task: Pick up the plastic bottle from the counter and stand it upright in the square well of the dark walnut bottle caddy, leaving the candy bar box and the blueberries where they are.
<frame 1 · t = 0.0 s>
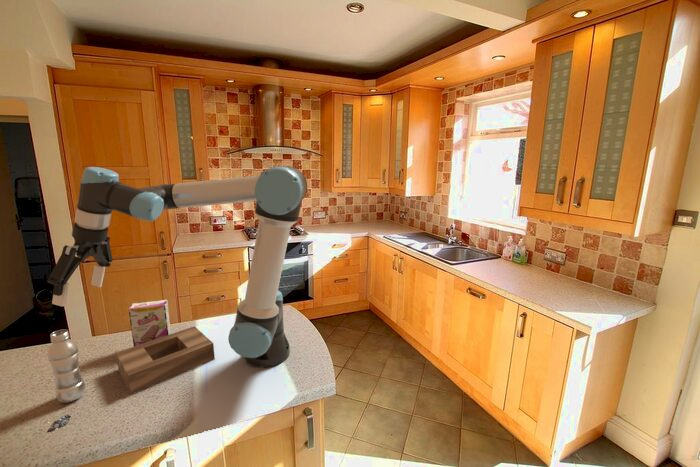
hand: (78, 294, 93), 28 cm above the counter, tool tilted 20°, fingers open, 13 cm apart
candy bar box: (154, 347, 118), on the counter
plastic bottle: (72, 398, 92), on the counter
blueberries: (59, 424, 83), on the counter
bottle caddy: (167, 364, 107), on the counter
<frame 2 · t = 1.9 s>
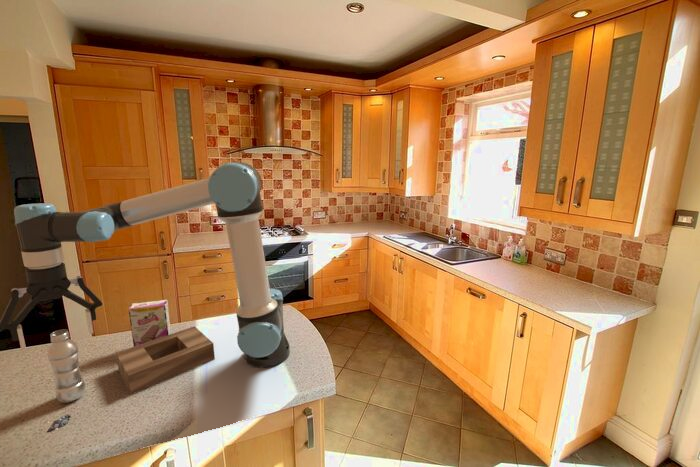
hand: (59, 340, 88), 18 cm above the counter, tool pointing down, fingers open, 13 cm apart
nothing on the counter moved.
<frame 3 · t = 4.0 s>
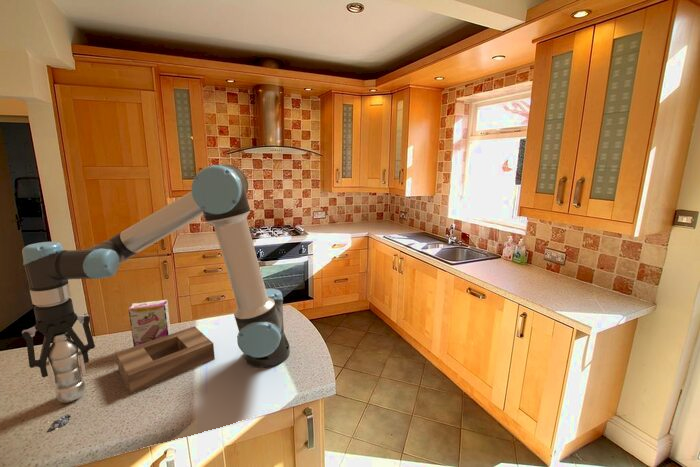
hand: (68, 379, 91), 6 cm above the counter, tool pointing down, fingers closed on plastic bottle, 6 cm apart
plastic bottle: (72, 398, 92), on the counter, touching gripper
everything else where it was.
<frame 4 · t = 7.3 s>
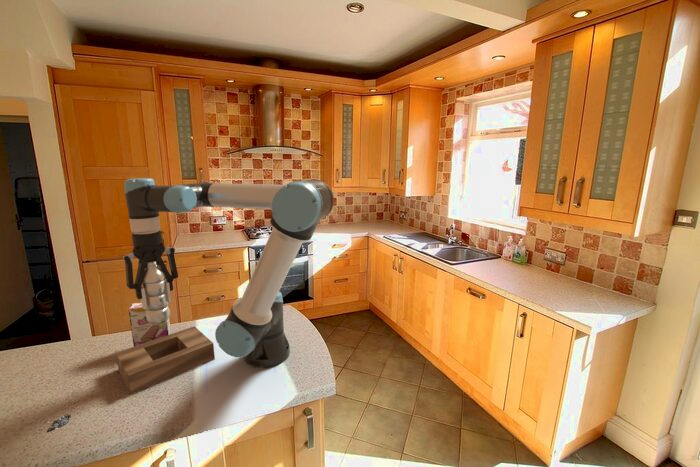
hand: (157, 304, 102), 21 cm above the counter, tool pointing down, fingers closed on plastic bottle, 6 cm apart
plastic bottle: (159, 322, 103), point 15 cm above the counter, touching gripper
everything else where it was.
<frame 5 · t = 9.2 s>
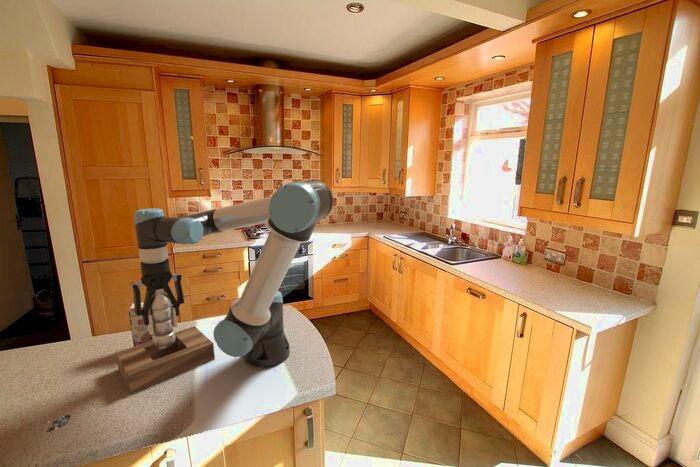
hand: (163, 329, 105), 12 cm above the counter, tool pointing down, fingers closed on plastic bottle, 6 cm apart
plastic bottle: (165, 346, 106), point 6 cm above the counter, touching gripper
everything else where it was.
when the fingers open (8 cm above the counter, at t = 10.9 s): plastic bottle drops 2 cm, resting in bottle caddy.
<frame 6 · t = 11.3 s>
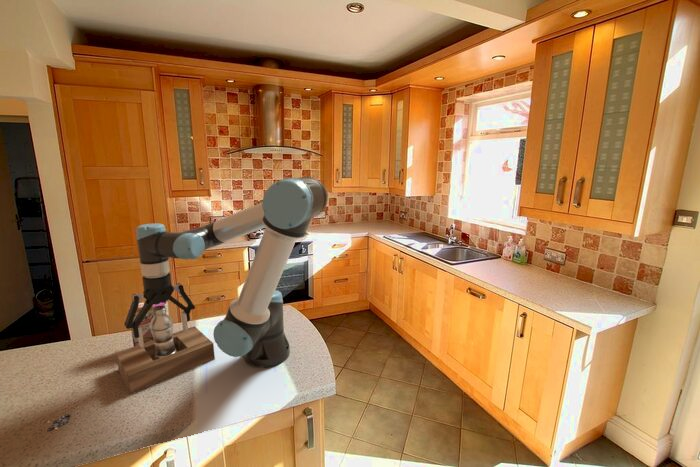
hand: (164, 338, 105), 9 cm above the counter, tool pointing down, fingers open, 12 cm apart
plastic bottle: (167, 364, 107), resting in bottle caddy
everything else where it was.
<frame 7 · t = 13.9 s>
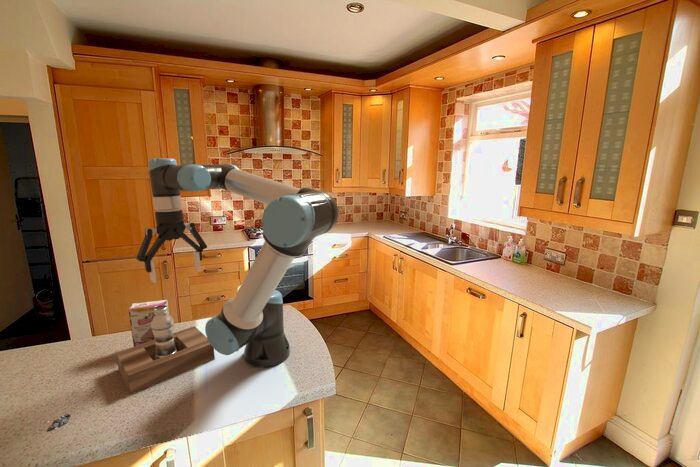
hand: (177, 275, 105), 29 cm above the counter, tool pointing down, fingers open, 13 cm apart
nothing on the counter moved.
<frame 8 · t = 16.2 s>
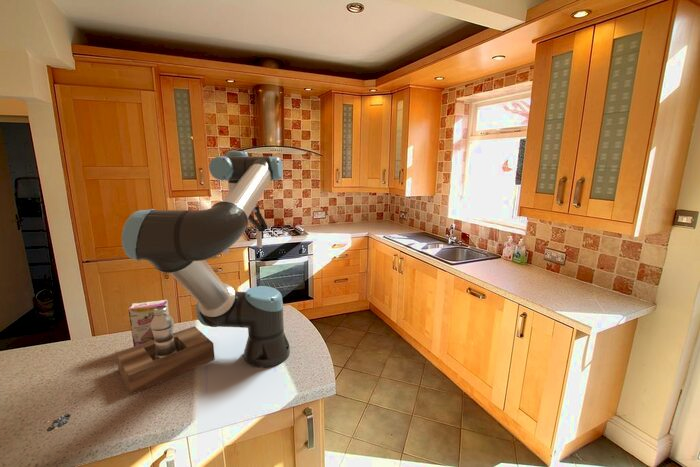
hand: (243, 250, 125), 32 cm above the counter, tool pointing down, fingers open, 13 cm apart
nothing on the counter moved.
at the end: plastic bottle inside the target area on the bottle caddy (0.1 cm from its centre), point 0.0 cm above the bottle caddy's base; plastic bottle tilted 0°; the gripper is holding nothing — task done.
